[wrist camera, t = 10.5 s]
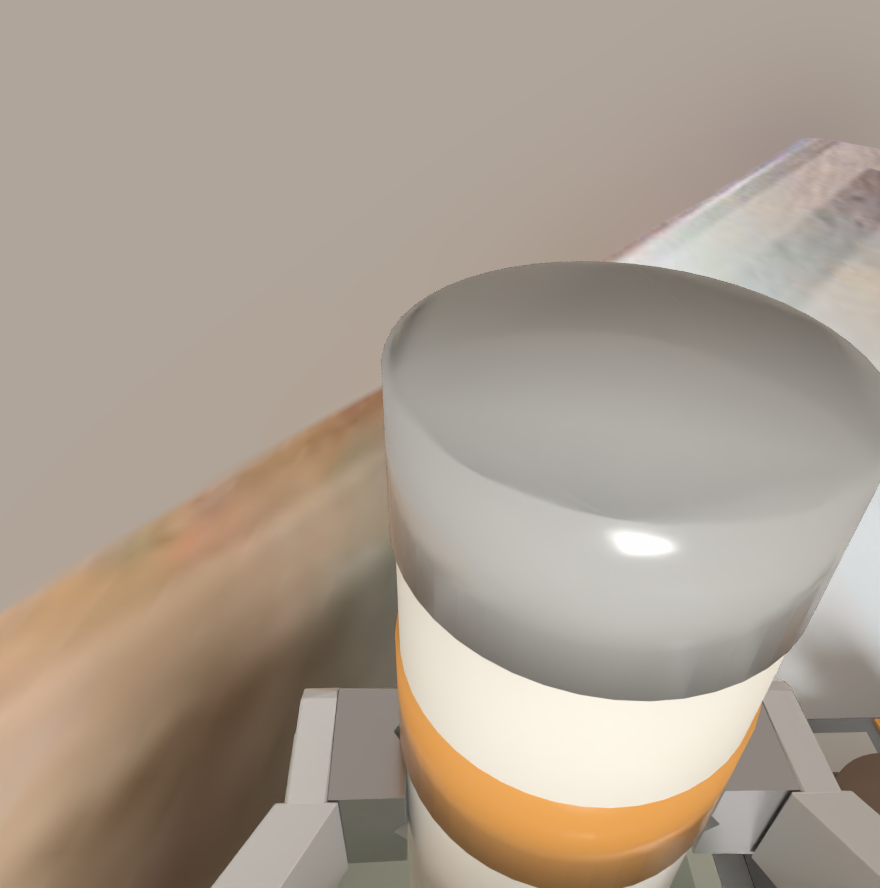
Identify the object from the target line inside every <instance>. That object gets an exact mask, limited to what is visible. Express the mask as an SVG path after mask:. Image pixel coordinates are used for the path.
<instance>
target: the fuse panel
mask: <svg viewBox="0 0 880 888" xmlns="http://www.w3.org/2000/svg"><path fill="white" fill-rule="evenodd" d="M806 720H807V722H808V724H809V726H810V728H811V730H812V732H813V734H814V736H815V738H816V740H817V742H818V744H819V746H820V748H821V750H822V752H823V754H824V756H825V759H826V761H827V763H828V765H829V767H830V769H831V771H832V773H833V775H834V777H835V778H836V776H837V775H838V774H839V772H840V771H841V770H842V769H843V768H844V767H845V766H846V765H847V764H848V763H849V762H851V761H852V760H854V759H856V758H858V757H861V756H864V755H868V754H874V753H880V718H839V719H806ZM752 855H753V854H744V857H745V860H746V863H747V866H748V869H749V872H750V875H751V877H752V880H753V883H754V886H755V888H774V886H773V884H774V883H773V882H772V881H771V880H770V879H769V877H768V876H767V875H766V874H765V873H764V872H763V870H762V869H761V868H760V867H759V866H758V864H757V863H756V862H755V861H754V860H753V858H752Z"/></svg>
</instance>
